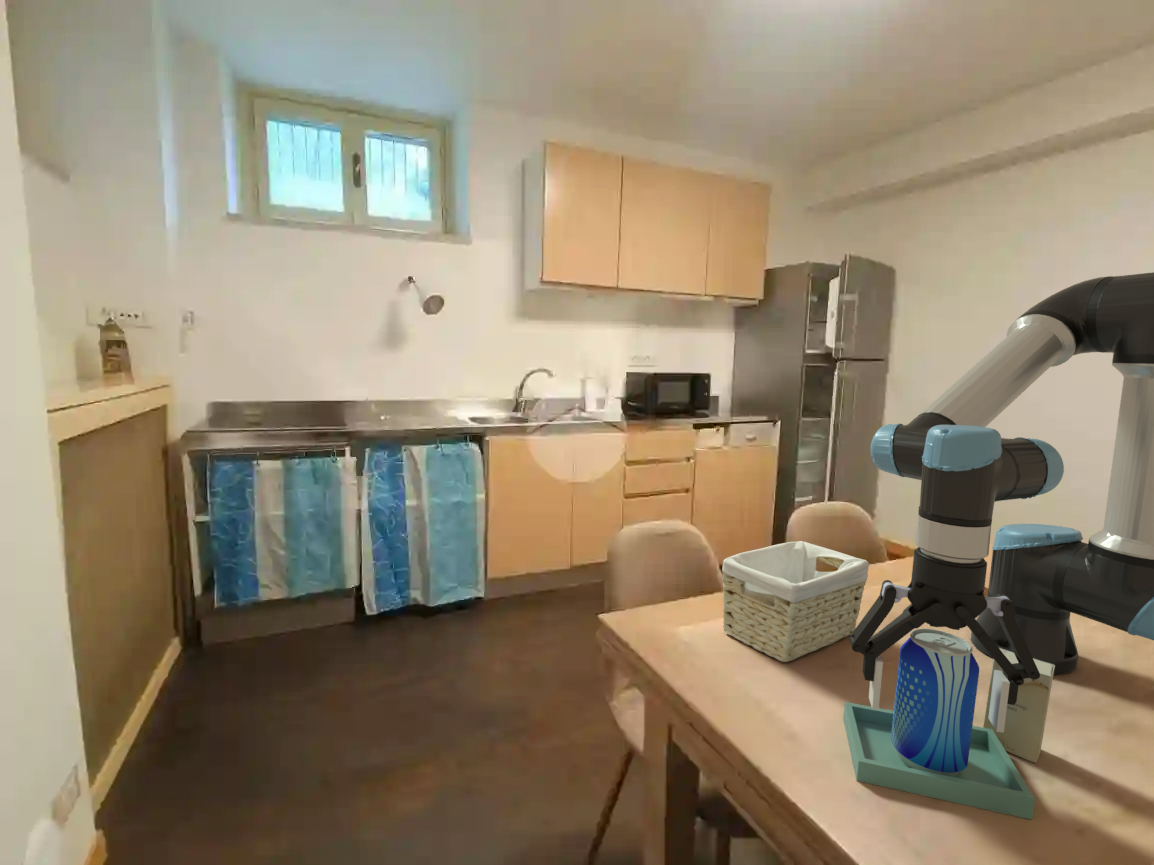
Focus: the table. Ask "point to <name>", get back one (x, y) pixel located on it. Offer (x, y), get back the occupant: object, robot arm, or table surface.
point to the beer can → (935, 702)
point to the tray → (978, 785)
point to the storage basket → (791, 598)
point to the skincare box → (1024, 711)
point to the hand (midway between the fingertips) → (932, 714)
